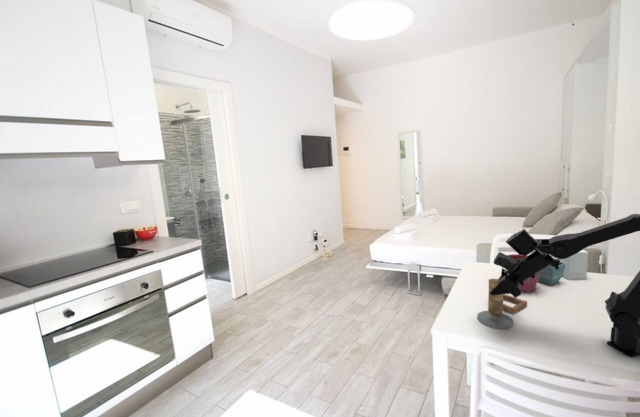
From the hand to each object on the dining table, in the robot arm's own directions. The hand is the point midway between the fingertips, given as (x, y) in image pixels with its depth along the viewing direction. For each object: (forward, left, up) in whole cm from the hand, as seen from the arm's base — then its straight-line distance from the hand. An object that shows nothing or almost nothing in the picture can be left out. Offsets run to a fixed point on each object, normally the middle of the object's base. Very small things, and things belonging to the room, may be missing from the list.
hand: (491, 291), depth 105 cm
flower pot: (+21, -42, -11) cm, 48 cm away
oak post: (-1, -1, -8) cm, 8 cm away
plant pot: (+19, -28, -11) cm, 36 cm away
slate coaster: (-1, -1, -11) cm, 11 cm away
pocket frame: (+7, -12, -11) cm, 18 cm away
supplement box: (+23, -56, -11) cm, 62 cm away
